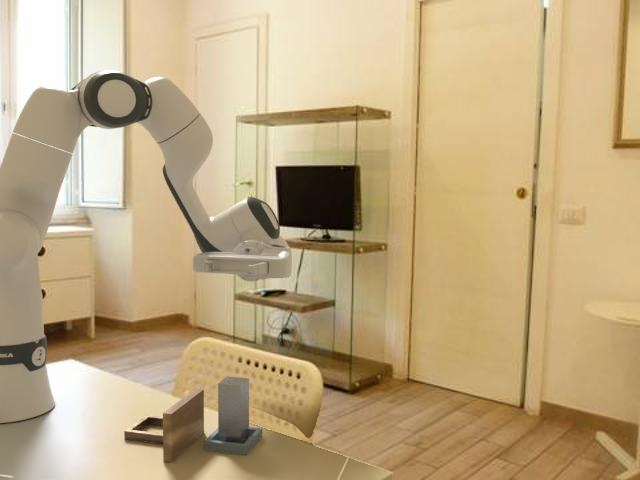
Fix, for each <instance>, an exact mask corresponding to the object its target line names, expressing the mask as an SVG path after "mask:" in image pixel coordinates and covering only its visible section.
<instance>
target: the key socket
mask: <svg viewBox="0 0 640 480" xmlns="http://www.w3.org/2000/svg"><path fill="white" fill-rule="evenodd" d="M148 426H155V427H162V428H163V416H161V415H160V416H159V415H151V414H150V415H149V414H146V415H145V416H144V417H142V418H140V419H139V420H138V421H136V422H135V423H134V424H132V425H131V426H129V427H128V428H126V429H124V435H123V436H124V440H128V441H135V442H143V443H148V444H149V443H150V444H157V445H158V444H159V445H163V432H162V433H160V432H153V431H145V430H144V429H145V428H146V427H148Z"/></svg>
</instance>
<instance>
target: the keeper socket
mask: <svg viewBox="0 0 640 480" xmlns="http://www.w3.org/2000/svg"><path fill="white" fill-rule="evenodd" d="M262 438H263V428H261V427H253V426H249V439H248V440H247V441H246V442H245V443H244V444H241V443H233V442H225V441H218V427H217V428H215V430H214V431H213V432H212V433H211V434H210V435H209V436H208V437H206V438H205V440H203V450H204V451H212V452H219V453H220V452H221V453H226V454H233V455H234V454H235V455H241V456H247V455H248V454H249V453H250V452H251V451H252V450H253V448H254V447H256V444H258V442H259V441H260V440H261V439H262Z"/></svg>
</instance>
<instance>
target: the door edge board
mask: <svg viewBox="0 0 640 480" xmlns="http://www.w3.org/2000/svg"><path fill="white" fill-rule="evenodd" d="M204 390H205V389H204V388H195V389H194V390H192V391H191V392H189V393H188V394H186V395H185V396H184V397H183V398H181V399H180V400H178V401H177V402H176V403H175V404H173V405H172V406H170V407H169V408H168V409H166V410H165V411H164V412H162V417H163V427H162V433H163V444H162V447H163V448H162V451H163V453H162V455H163V457H162V458H163V459H162V461H163V462H166V463H167V462H168V463H174V461H175V460H176V459H177V458H178V457H179V456H181V454H183V453H184V452H185V451H186V450H187V449H188V448H189V447H191V446H192V444H194V443H195V442H196V441H197V440H198V439H199V438H200V437H201V436H203V434H204V433H205V400H204V399H205V396H204V395H205V391H204Z"/></svg>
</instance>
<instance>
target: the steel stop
mask: <svg viewBox="0 0 640 480" xmlns="http://www.w3.org/2000/svg"><path fill="white" fill-rule="evenodd" d="M217 388H218V389H217V392H218V393H217V395H218V396H217V400H218V401H217V402H218V403H217V405H218V406H217V411H218V412H217V413H218V414H217V418H218V425H217V426H218V427H217V428H218V441H225V442H233V443H241V444H244V443H245V442H246V441H247V440H248V439H249V438H250V437H249V427H250V378H247V377H238V376H226V377H224V378H223V379H222V380H221V381H219V383H217Z"/></svg>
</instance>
